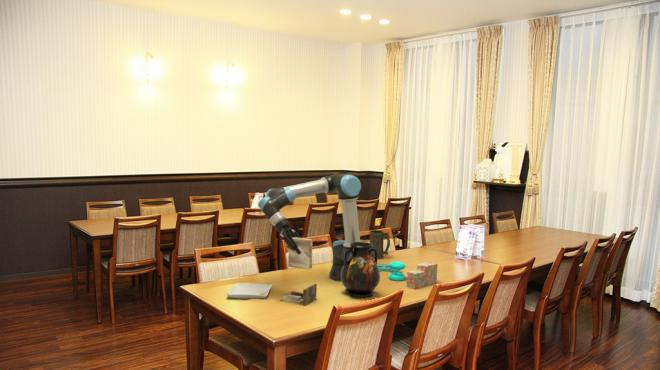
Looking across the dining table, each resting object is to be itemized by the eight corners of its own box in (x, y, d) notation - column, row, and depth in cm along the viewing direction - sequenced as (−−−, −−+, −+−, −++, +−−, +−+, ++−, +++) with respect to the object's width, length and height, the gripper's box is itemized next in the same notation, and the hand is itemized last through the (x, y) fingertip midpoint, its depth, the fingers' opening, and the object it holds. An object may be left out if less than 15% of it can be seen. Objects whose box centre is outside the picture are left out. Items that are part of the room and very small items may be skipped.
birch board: (291, 265, 259) (292, 236, 258) (311, 268, 254) (312, 239, 253) (288, 266, 256) (288, 237, 255) (308, 269, 251) (309, 240, 250)
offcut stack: (287, 298, 255) (287, 293, 255) (304, 302, 251) (304, 297, 251) (282, 301, 251) (282, 296, 251) (299, 304, 247) (299, 299, 247)
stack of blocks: (414, 289, 283) (416, 268, 282) (406, 287, 287) (407, 266, 286) (436, 283, 297) (437, 263, 296) (428, 281, 302) (429, 261, 301)
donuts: (403, 265, 297) (387, 263, 300) (402, 282, 297) (386, 280, 301) (407, 262, 306) (391, 260, 309) (406, 278, 307) (390, 276, 310)
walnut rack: (291, 296, 263) (292, 279, 262) (317, 301, 256) (317, 284, 256) (279, 302, 252) (279, 285, 251) (305, 307, 245) (305, 290, 244)
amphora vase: (346, 301, 257) (348, 248, 255) (334, 289, 278) (336, 240, 275) (385, 299, 263) (387, 247, 261) (370, 287, 284) (372, 239, 281)
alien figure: (402, 275, 315) (396, 267, 335) (402, 271, 315) (397, 264, 335) (370, 274, 314) (367, 266, 334) (371, 271, 314) (367, 263, 334)
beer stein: (366, 258, 354) (369, 231, 353) (367, 255, 365) (370, 228, 363) (387, 261, 352) (391, 234, 350) (388, 258, 363) (391, 231, 361)
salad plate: (235, 288, 275) (235, 282, 275) (273, 289, 275) (273, 283, 274) (225, 300, 254) (225, 293, 254) (267, 302, 253) (267, 295, 253)
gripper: (283, 224, 268) (309, 258, 262) (266, 229, 253) (293, 265, 247) (292, 215, 265) (319, 250, 259) (275, 219, 250) (303, 256, 244)
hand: (306, 257), depth 253 cm, fingers closed on birch board, 3 cm apart
